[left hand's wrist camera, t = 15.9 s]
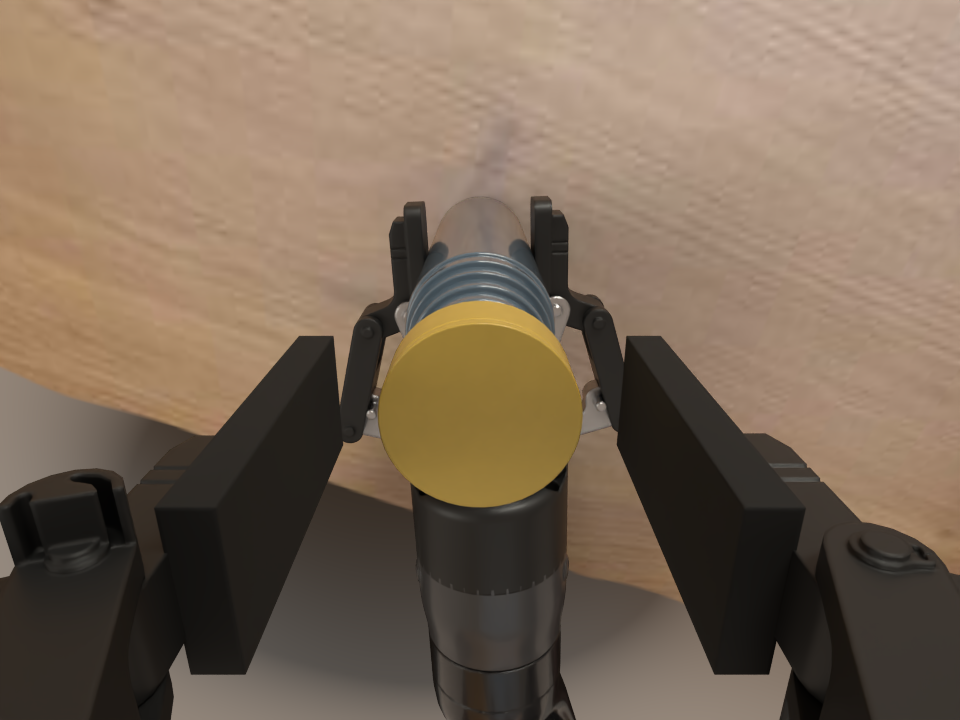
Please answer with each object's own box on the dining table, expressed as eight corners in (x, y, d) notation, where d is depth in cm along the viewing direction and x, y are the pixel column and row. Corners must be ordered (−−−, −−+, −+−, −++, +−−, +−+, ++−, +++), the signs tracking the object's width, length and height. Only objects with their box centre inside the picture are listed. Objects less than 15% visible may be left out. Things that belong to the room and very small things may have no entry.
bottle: (477, 177, 31) (473, 262, 12) (541, 238, 32) (629, 404, 13) (418, 243, 32) (331, 416, 13) (482, 300, 33) (486, 533, 14)
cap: (366, 437, 15) (353, 475, 13) (420, 273, 13) (412, 293, 12) (532, 488, 15) (538, 530, 14) (600, 335, 14) (615, 363, 12)
